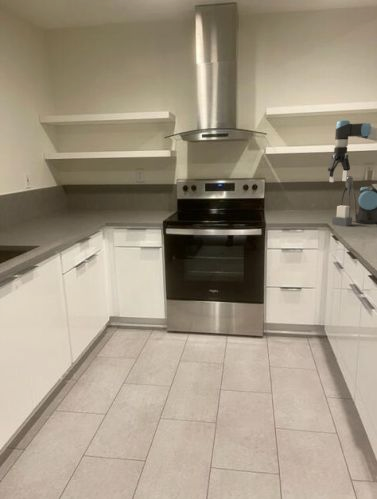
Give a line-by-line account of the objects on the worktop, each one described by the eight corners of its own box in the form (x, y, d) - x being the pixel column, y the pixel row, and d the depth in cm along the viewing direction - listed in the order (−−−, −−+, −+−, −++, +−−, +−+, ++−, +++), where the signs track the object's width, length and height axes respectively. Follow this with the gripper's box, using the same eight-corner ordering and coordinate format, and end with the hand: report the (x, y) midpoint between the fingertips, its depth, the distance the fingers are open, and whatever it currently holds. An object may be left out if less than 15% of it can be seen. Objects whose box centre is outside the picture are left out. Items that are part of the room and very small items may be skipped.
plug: (340, 223, 250) (341, 205, 247) (348, 224, 245) (349, 206, 242) (336, 224, 247) (337, 206, 244) (344, 225, 242) (345, 206, 240)
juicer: (356, 221, 254) (357, 175, 247) (338, 221, 259) (339, 176, 252) (358, 219, 262) (359, 174, 255) (341, 219, 267) (341, 175, 261)
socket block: (337, 223, 251) (338, 215, 250) (351, 225, 243) (352, 217, 242) (332, 224, 248) (332, 216, 247) (345, 226, 240) (346, 218, 239)
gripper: (347, 146, 246) (344, 180, 251) (323, 146, 232) (320, 182, 237) (357, 146, 240) (354, 180, 245) (334, 146, 226) (331, 182, 231)
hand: (338, 181), depth 241 cm, fingers open, 13 cm apart
